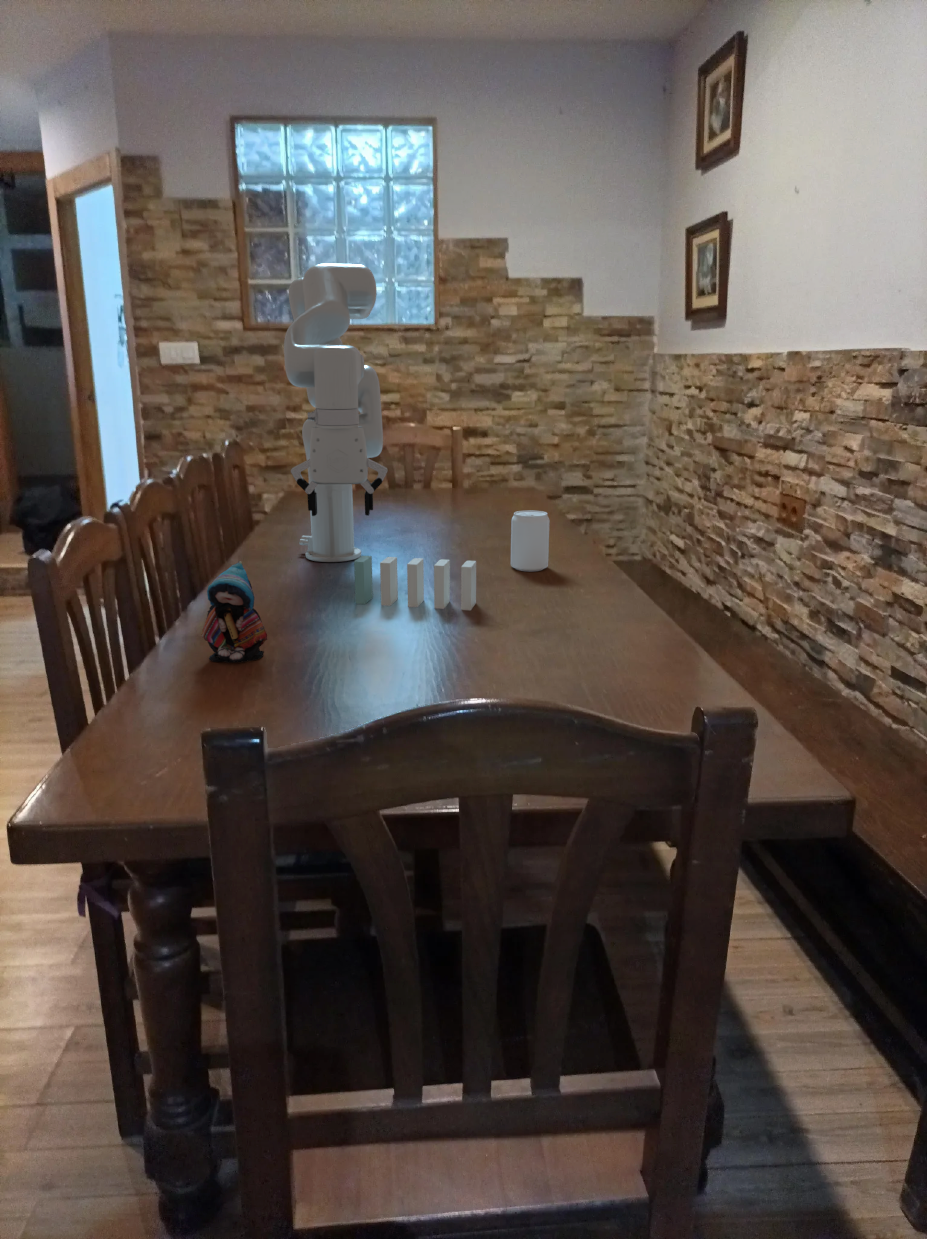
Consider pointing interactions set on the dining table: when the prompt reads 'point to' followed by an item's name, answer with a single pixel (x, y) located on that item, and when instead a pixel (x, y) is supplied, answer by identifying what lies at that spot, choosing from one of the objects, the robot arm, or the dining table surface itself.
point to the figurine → (233, 618)
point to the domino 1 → (363, 579)
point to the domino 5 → (468, 585)
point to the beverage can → (529, 540)
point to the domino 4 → (441, 583)
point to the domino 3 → (415, 582)
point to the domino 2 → (389, 581)
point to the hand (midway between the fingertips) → (341, 514)
